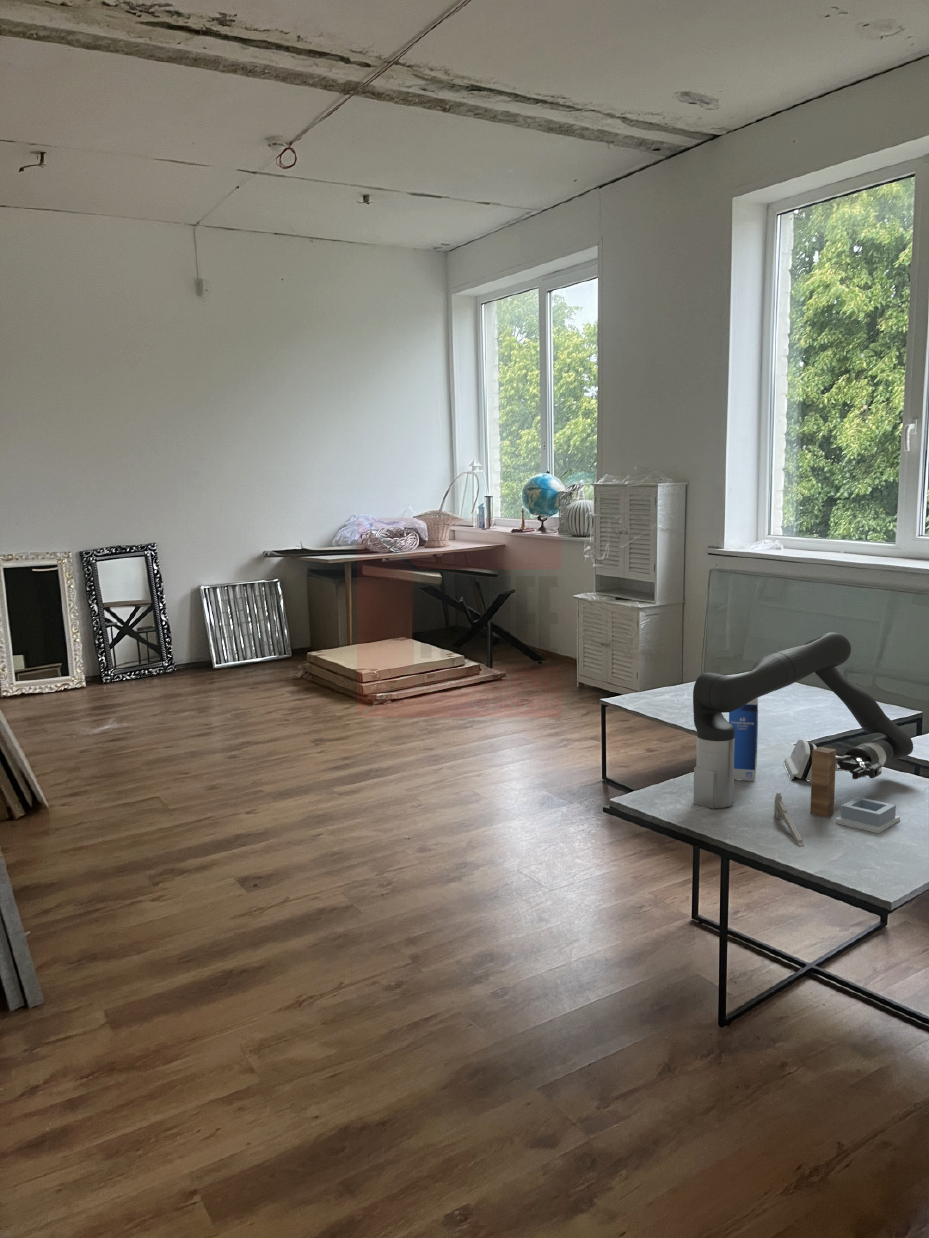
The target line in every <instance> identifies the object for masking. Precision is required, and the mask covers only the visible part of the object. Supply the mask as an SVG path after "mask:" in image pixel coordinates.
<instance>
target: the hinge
mask: <svg viewBox="0 0 929 1238" xmlns="http://www.w3.org/2000/svg"><path fill="white" fill-rule="evenodd" d="M816 748H818V747H817V745H816V744H814V743H812V742H810V741H807V740H806V739H805V740H804V739H798V740H797V741H796V743H795V745H794V748H793V749H792V752H791V754H790V756H789V757H785V758H784V761H783V763H785V766H786V768H787V771H788V773H789V775H790V778H789V780H790V779H793V780H794V777H796V778H798V779H804V780H805V779H806V780H810V781H811V779H812V750H814V749H816ZM787 771H786V772H787ZM806 780H805V781H806Z"/></svg>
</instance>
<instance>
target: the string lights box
mask: <svg viewBox="0 0 929 1238" xmlns="http://www.w3.org/2000/svg"><path fill="white" fill-rule="evenodd" d="M728 722H729V723H730V724H732V725H733V727H734V730H735V737H734V738H735V742H734V779H741V780H740V781H742V780H755V781H756V773H757V766H758V739H759V738H758V737H759V736H758V735H759V734H758V731H759V730H758V729H759V728H758V727H759V697H758V698H756V699H754V700H752V701H750V702H749V703H747V704H745V705H744V706H742V707H740V708H738V709H736V710H734V711H732V712H728Z"/></svg>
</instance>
